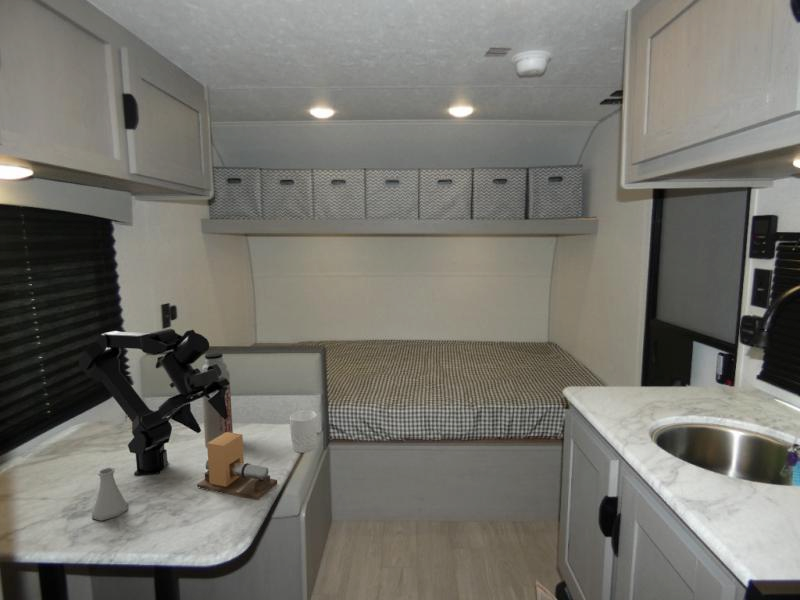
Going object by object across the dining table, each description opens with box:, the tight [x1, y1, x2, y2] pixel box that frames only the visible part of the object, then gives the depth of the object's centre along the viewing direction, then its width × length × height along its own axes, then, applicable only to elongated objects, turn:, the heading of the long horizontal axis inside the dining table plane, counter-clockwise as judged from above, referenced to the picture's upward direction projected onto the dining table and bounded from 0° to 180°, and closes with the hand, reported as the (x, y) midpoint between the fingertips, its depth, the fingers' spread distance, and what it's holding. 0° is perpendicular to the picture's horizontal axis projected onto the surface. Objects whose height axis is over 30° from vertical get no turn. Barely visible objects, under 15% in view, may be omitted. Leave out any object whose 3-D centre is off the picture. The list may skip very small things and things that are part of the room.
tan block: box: [206, 432, 245, 487], centre depth 117 cm, size 5×7×10 cm
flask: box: [91, 466, 129, 522], centre depth 105 cm, size 7×7×10 cm
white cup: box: [289, 410, 318, 454], centre depth 137 cm, size 8×8×10 cm
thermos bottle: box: [201, 352, 234, 449], centre depth 139 cm, size 8×8×28 cm
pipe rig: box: [196, 459, 278, 501], centre depth 116 cm, size 18×8×6 cm, turn 71°
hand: (213, 425), depth 116 cm, fingers open, 9 cm apart
